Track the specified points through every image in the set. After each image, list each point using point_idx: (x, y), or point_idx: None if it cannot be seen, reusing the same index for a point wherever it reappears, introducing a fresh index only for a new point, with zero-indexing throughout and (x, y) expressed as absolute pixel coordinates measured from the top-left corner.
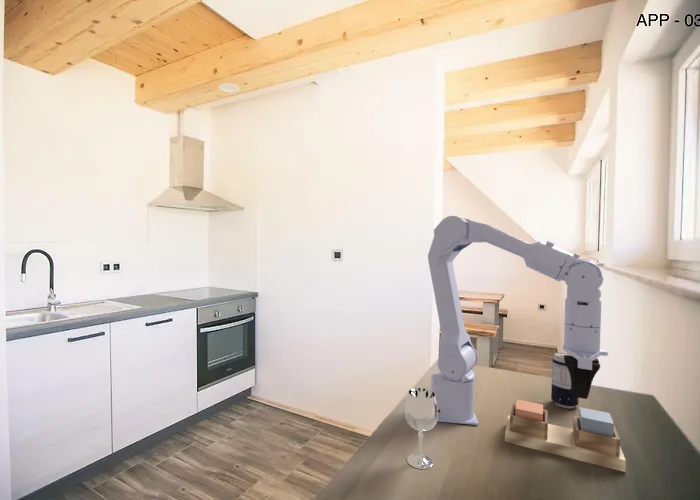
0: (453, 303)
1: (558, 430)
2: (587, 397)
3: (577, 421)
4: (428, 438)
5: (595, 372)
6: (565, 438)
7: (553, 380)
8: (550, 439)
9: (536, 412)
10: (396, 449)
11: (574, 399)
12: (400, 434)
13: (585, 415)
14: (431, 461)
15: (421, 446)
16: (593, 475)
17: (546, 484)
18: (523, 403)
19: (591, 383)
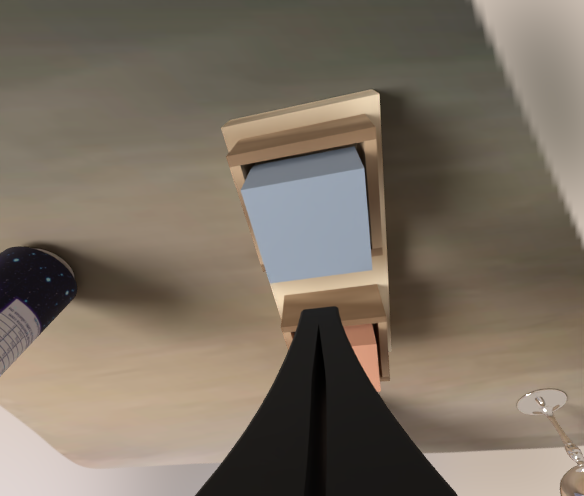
0: None
1: None
2: (335, 309)
3: None
4: (452, 411)
5: (430, 464)
6: None
7: (25, 349)
8: (369, 278)
9: (374, 356)
10: (515, 427)
11: (30, 266)
12: (461, 435)
13: (342, 261)
14: (539, 393)
15: (559, 428)
16: (442, 165)
17: (538, 245)
18: None
19: (362, 371)
